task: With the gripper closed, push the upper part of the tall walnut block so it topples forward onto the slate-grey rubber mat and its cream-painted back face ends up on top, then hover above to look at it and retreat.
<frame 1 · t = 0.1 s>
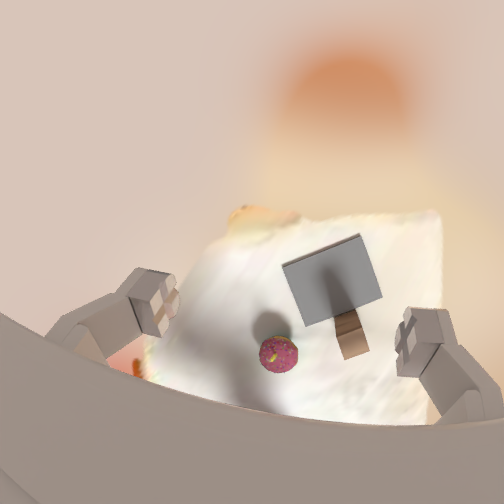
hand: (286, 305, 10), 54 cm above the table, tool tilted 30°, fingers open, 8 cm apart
mat: (333, 282, 63), on the table
cupcake: (281, 346, 66), on the table
walnut block: (348, 323, 62), on the table
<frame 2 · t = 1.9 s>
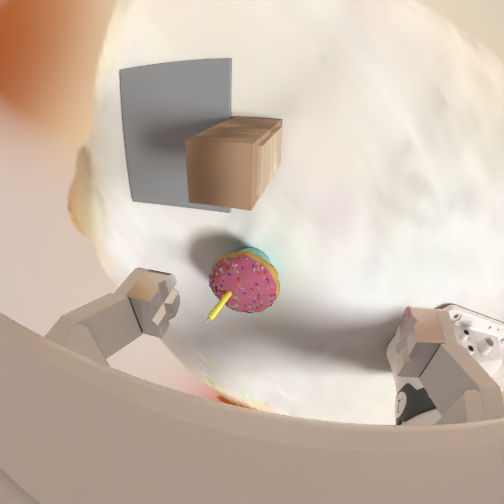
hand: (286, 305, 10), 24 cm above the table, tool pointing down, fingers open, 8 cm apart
mat: (174, 136, 33), on the table
cupcake: (253, 261, 40), on the table
walnut block: (257, 139, 31), on the table
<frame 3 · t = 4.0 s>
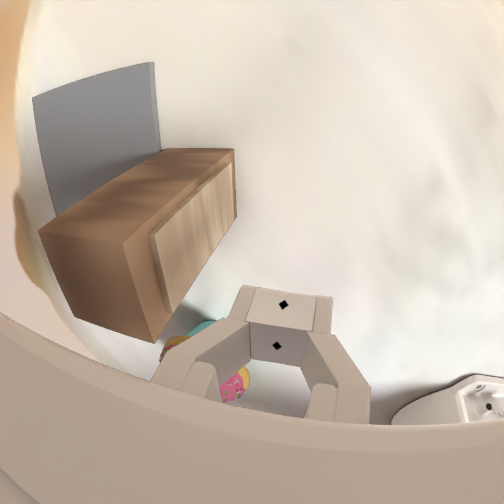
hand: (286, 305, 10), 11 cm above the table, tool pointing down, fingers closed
mat: (97, 180, 23), on the table
cupcake: (219, 334, 30), on the table
walnut block: (201, 182, 21), on the table
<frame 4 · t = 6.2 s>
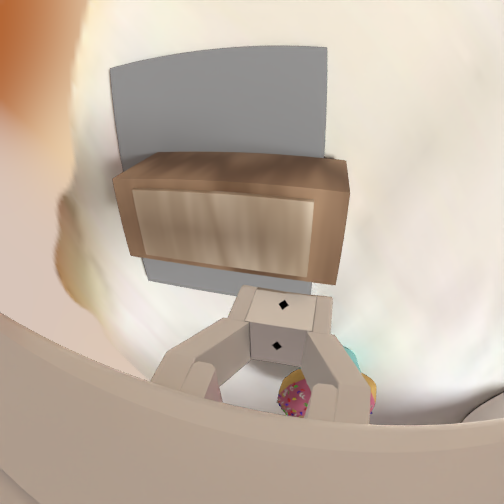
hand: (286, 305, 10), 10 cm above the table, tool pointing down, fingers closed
mat: (214, 185, 20), on the table
cupcake: (332, 357, 27), on the table
walnut block: (342, 218, 15), point 3 cm above the table, tilted 90°, touching mat
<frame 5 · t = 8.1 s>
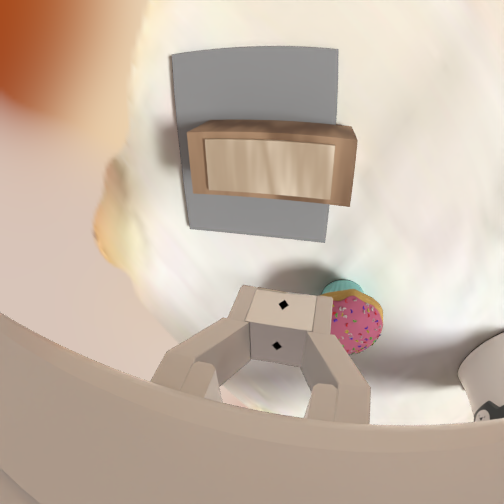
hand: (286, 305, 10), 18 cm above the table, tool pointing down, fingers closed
mat: (254, 145, 26), on the table
cupcake: (343, 293, 33), on the table
walnut block: (351, 163, 21), point 3 cm above the table, tilted 90°, touching mat
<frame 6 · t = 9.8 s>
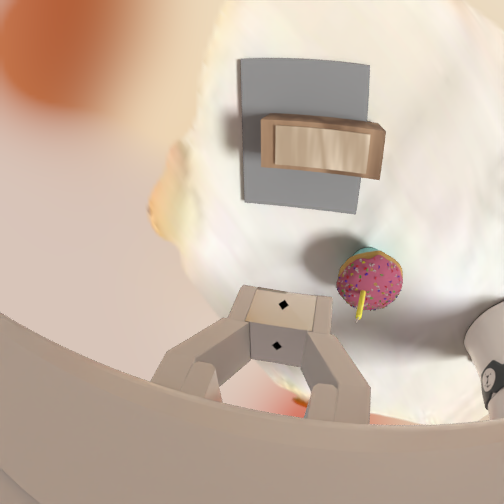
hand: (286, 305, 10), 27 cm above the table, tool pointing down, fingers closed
mat: (303, 135, 32), on the table
cupcake: (368, 260, 39), on the table
walnut block: (379, 150, 28), point 3 cm above the table, tilted 90°, touching mat
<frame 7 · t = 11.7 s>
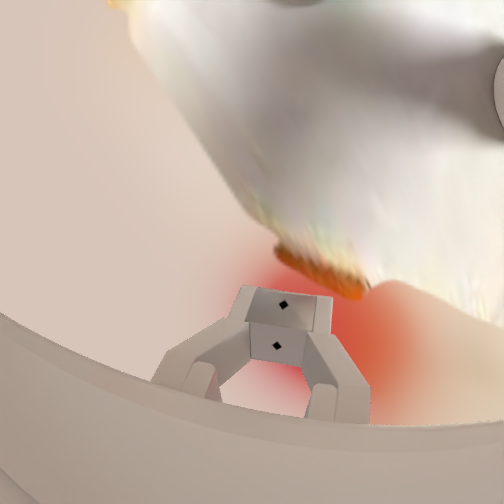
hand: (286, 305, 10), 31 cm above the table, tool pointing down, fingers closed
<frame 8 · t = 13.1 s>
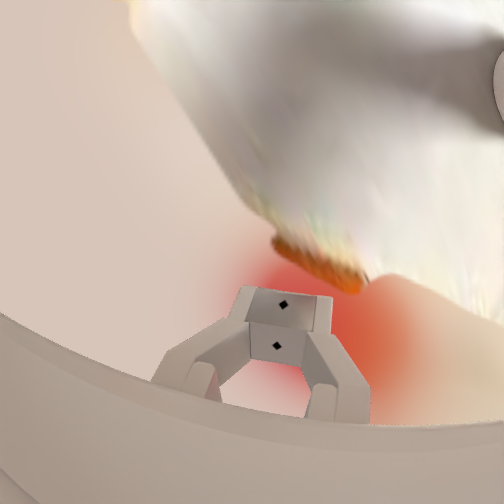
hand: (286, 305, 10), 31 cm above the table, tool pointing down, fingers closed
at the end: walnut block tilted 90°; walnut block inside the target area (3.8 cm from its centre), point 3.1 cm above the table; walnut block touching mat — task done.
